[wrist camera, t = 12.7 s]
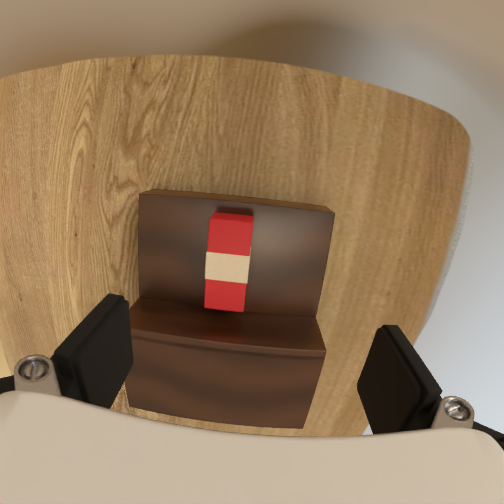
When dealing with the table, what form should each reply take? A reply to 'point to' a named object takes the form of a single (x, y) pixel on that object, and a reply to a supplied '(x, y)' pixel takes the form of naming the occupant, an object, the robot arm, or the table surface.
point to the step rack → (228, 313)
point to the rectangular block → (227, 261)
